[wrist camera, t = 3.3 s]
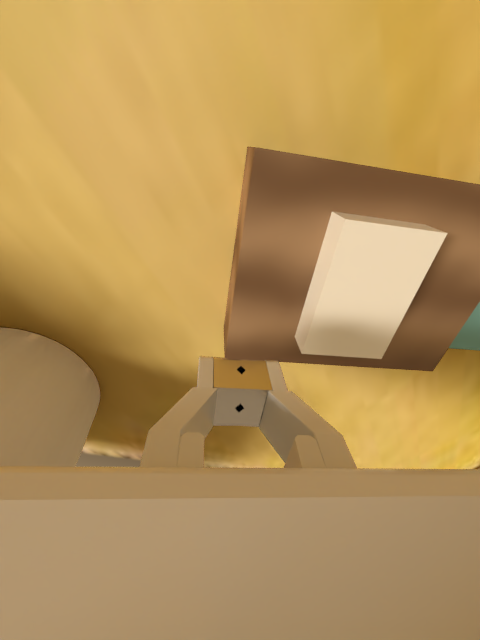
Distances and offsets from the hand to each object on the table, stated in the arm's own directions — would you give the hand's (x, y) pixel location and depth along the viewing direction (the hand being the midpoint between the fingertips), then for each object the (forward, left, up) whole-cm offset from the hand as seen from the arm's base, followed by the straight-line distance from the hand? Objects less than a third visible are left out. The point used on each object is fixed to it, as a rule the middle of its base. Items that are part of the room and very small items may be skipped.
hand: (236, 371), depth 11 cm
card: (0, +9, -9) cm, 12 cm away
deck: (0, +10, -13) cm, 16 cm away
